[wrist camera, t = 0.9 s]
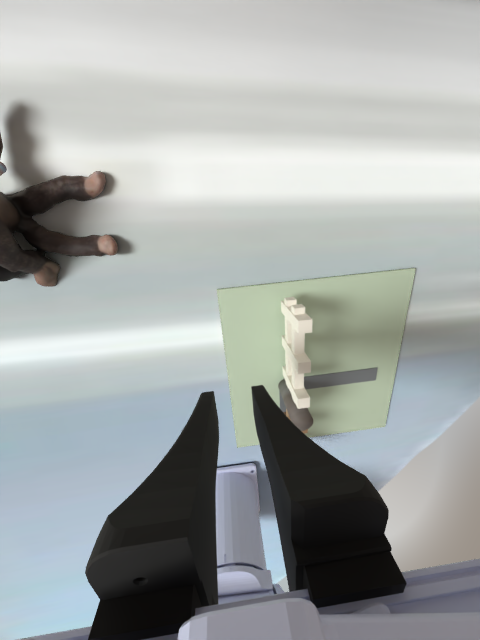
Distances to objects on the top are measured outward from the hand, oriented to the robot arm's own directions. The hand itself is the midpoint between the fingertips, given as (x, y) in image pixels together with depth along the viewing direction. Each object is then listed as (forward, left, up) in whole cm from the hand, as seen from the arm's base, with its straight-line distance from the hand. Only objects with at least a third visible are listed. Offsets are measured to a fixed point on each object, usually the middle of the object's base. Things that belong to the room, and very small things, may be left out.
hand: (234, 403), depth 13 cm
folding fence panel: (-1, -6, -9) cm, 11 cm away
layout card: (-5, -8, -10) cm, 14 cm away
